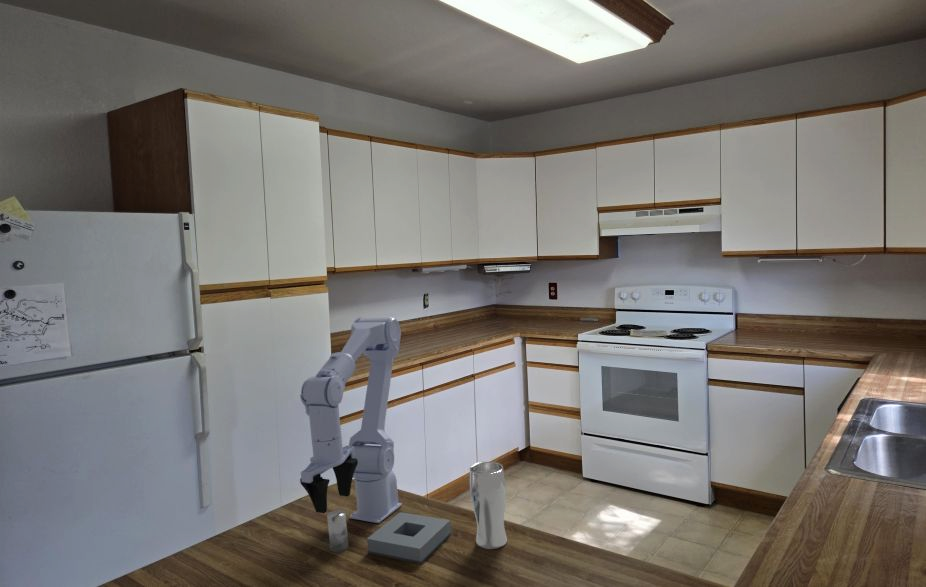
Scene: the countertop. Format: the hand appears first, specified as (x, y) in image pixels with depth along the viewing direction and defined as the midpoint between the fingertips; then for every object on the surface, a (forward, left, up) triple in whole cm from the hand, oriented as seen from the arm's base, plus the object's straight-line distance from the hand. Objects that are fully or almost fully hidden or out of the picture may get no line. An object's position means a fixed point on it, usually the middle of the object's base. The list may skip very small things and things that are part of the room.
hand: (333, 503), depth 124 cm
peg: (0, 0, -9) cm, 9 cm away
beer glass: (-12, +28, -10) cm, 32 cm away
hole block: (-6, +13, -9) cm, 17 cm away
